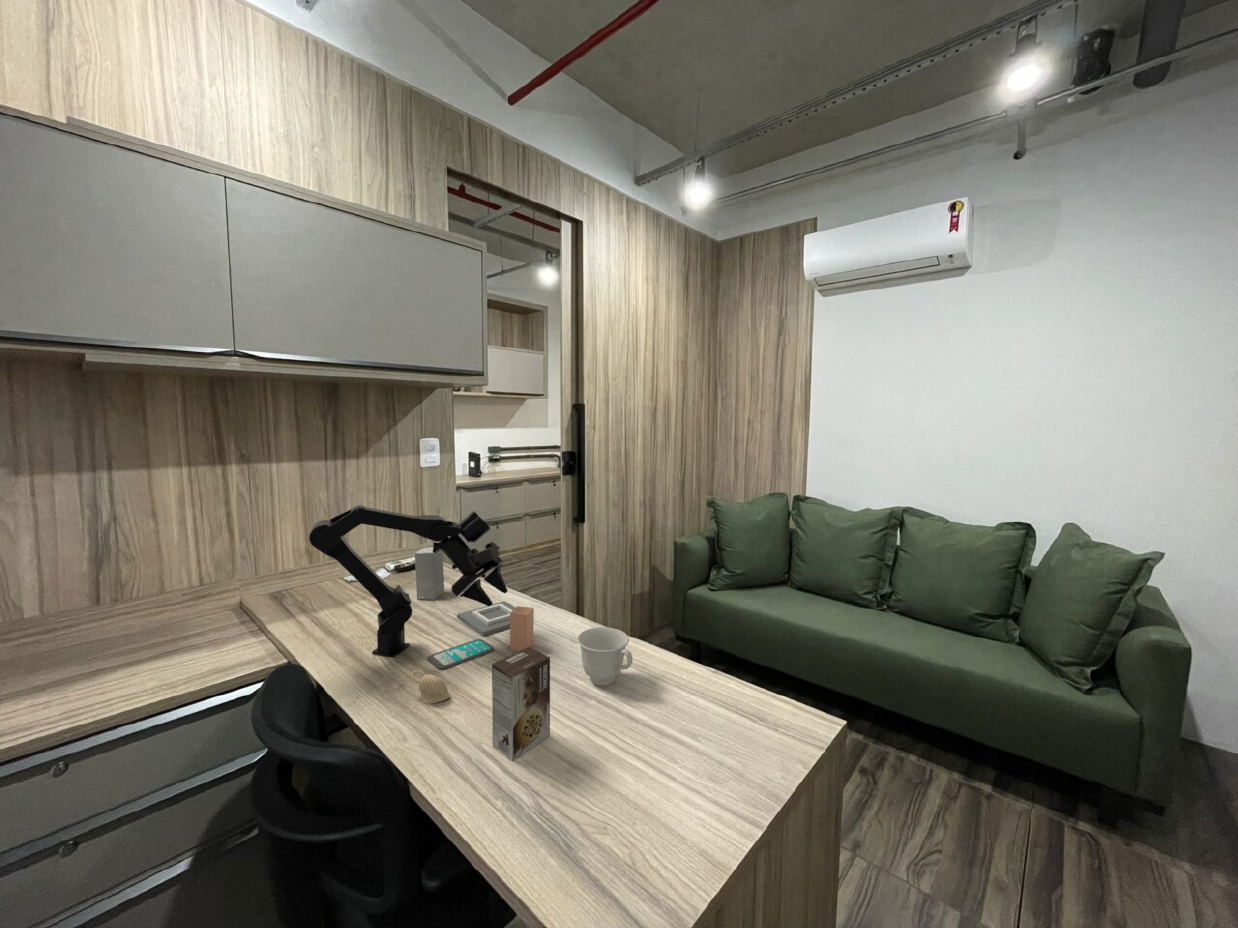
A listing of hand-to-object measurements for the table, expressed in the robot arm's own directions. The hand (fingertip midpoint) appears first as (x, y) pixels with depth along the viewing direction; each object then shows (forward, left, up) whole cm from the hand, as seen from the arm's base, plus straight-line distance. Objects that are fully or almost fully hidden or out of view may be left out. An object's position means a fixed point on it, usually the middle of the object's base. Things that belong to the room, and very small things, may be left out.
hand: (499, 598), depth 128 cm
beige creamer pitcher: (-26, +3, -13) cm, 29 cm away
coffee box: (-35, -21, -13) cm, 43 cm away
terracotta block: (0, -7, -12) cm, 14 cm away
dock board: (+14, +8, -12) cm, 20 cm away
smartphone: (-8, +7, -13) cm, 17 cm away
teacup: (-11, -32, -13) cm, 36 cm away
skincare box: (+26, +37, -13) cm, 47 cm away
